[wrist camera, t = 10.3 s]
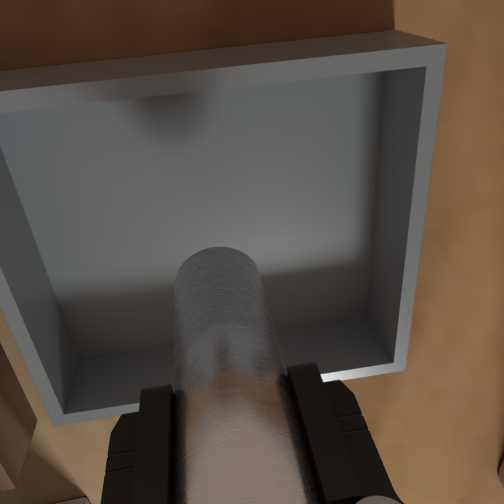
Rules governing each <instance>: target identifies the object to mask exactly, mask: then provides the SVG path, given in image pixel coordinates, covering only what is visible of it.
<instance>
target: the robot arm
mask: <svg viewBox="0 0 504 504" xmlns="http://www.w3.org/2000/svg"><path fill="white" fill-rule="evenodd" d="M287 377H288V380H289V384H290V388H291V391H292V395H293V399H294V403H295V406H296V410H297V414H298V417H299V421H300V425H301V429H302V432H303V436H304V440H305V443H306V447H307V451H308V454H309V458H310V462H311V466H312V469H313V473H314V477H315V480H316V484H317V488H318V491H319V495H320V499H321V503H322V504H404V503H403V502H402V501H401V500H400V499H399V497H398V496H397V494H396V493H395V491H394V489H393V487H392V484H391V482H390V480H389V477H388V475H387V472H386V470H385V468H384V465H383V463H382V460H381V458H380V456H379V453H378V451H377V448H376V446H375V443H374V441H373V439H372V436H371V434H370V431H368V427H367V424H366V422H365V419H364V417H363V416H362V412H361V410H360V407H359V405H358V403H357V400H356V398H355V395H354V394H353V393H352V392H351V391H350V390H349V389H348V388H347V387H346V386H345V385H344V384H343V383H342V382H341V381H340V380H333V381H327V382H323V380H322V377H321V374H320V371H319V369H318V366H317V364H316V362H311V363H305V364H298V365H292V366H287ZM173 448H174V392H173V388H172V385H171V384H169V385H162V386H156V387H150V388H143V389H141V393H140V403H139V411H138V412H132V413H125V414H122V415H121V416H120V418H119V420H118V422H117V423H116V425H115V427H114V429H113V430H112V432H111V435H110V442H109V449H108V458H107V463H106V470H105V472H106V475H105V477H104V484H103V491H102V498H101V504H173ZM499 478H500V482H501V484H502V485H503V487H504V460H503V462H502V464H501V466H500V471H499Z"/></svg>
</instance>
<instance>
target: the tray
mask: <svg viewBox="0 0 504 504" xmlns="http://www.w3.org/2000/svg"><path fill="white" fill-rule="evenodd" d="M447 46H448V44H447V43H444V42H440V41H436V40H432V39H428V38H425V37H421V36H417V35H413V34H409V33H406V32H402V31H398V30H389V31H379V32H369V33H360V34H350V35H340V36H331V37H321V38H311V39H302V40H292V41H282V42H273V43H263V44H253V45H244V46H234V47H224V48H215V49H205V50H195V51H186V52H176V53H166V54H157V55H147V56H137V57H128V58H118V59H108V60H99V61H89V62H79V63H70V64H60V65H50V66H41V67H31V68H21V69H12V70H2V71H0V309H1V311H2V313H3V315H4V318H5V320H6V322H7V324H8V326H9V329H10V331H11V333H12V335H13V337H14V340H15V342H16V344H17V346H18V348H19V351H20V353H21V355H22V357H23V359H24V362H25V364H26V366H27V368H28V370H29V373H30V375H31V377H32V379H33V381H34V383H35V386H36V388H37V390H38V392H39V394H40V397H41V399H42V401H43V403H44V405H45V408H46V410H47V412H48V414H49V416H50V419H51V421H52V423H53V425H54V426H57V425H63V424H69V423H76V422H82V421H88V420H95V419H101V418H107V417H114V416H120V415H122V414H125V413H132V412H138V411H139V403H140V393H141V389H143V388H150V387H156V386H162V385H169V384H171V385H172V388H173V392H174V318H175V278H176V274H177V272H178V270H179V268H180V266H181V265H182V264H183V262H184V261H185V260H186V259H187V258H189V257H190V256H191V255H193V254H195V253H196V252H199V251H201V250H204V249H207V248H212V247H229V248H233V249H237V250H239V251H241V252H243V253H245V254H246V255H248V256H249V257H250V258H251V259H252V260H253V261H254V262H255V264H256V265H257V267H258V269H259V272H260V276H261V279H262V283H263V287H264V290H265V294H266V298H267V301H268V305H269V309H270V312H271V316H272V320H273V324H274V327H275V331H276V335H277V338H278V342H279V346H280V349H281V353H282V357H283V360H284V364H285V368H286V371H287V366H292V365H298V364H305V363H311V362H316V364H317V366H318V369H319V371H320V374H321V377H322V380H323V382H327V381H333V380H340V381H341V380H347V379H353V378H360V377H366V376H372V375H379V374H385V373H391V372H397V371H404V370H405V368H406V360H407V352H408V345H409V337H410V329H411V322H412V314H413V306H414V299H415V291H416V283H417V276H418V268H419V260H420V253H421V245H422V237H423V230H424V222H425V214H426V207H427V199H428V191H429V184H430V176H431V168H432V161H433V153H434V145H435V138H436V130H437V122H438V115H439V107H440V99H441V92H442V84H443V76H444V69H445V61H446V53H447Z"/></svg>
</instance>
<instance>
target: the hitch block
mask: <svg viewBox="0 0 504 504" xmlns="http://www.w3.org/2000/svg"><path fill="white" fill-rule="evenodd" d="M36 423H37V419H36V417H35V415H34V413H33V411H32V409H31V407H30V405H29V403H28V401H27V398H26V396H25V394H24V392H23V390H22V388H21V386H20V384H19V382H18V380H17V378H16V376H15V373H14V371H13V369H12V367H11V365H10V363H9V361H8V359H7V357H6V355H5V353H4V351H3V348H2V346H1V344H0V491H6V490H12V489H16V486H17V483H18V480H19V477H20V474H21V470H22V467H23V464H24V461H25V458H26V455H27V452H28V448H29V445H30V442H31V439H32V436H33V433H34V430H35V426H36Z"/></svg>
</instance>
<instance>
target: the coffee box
mask: <svg viewBox="0 0 504 504" xmlns="http://www.w3.org/2000/svg"><path fill="white" fill-rule="evenodd" d="M54 504H90V503H89V501H88V499H87V498H85V497H82V498H77V499H73V500H68V501H63V502H59V503H54Z"/></svg>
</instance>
